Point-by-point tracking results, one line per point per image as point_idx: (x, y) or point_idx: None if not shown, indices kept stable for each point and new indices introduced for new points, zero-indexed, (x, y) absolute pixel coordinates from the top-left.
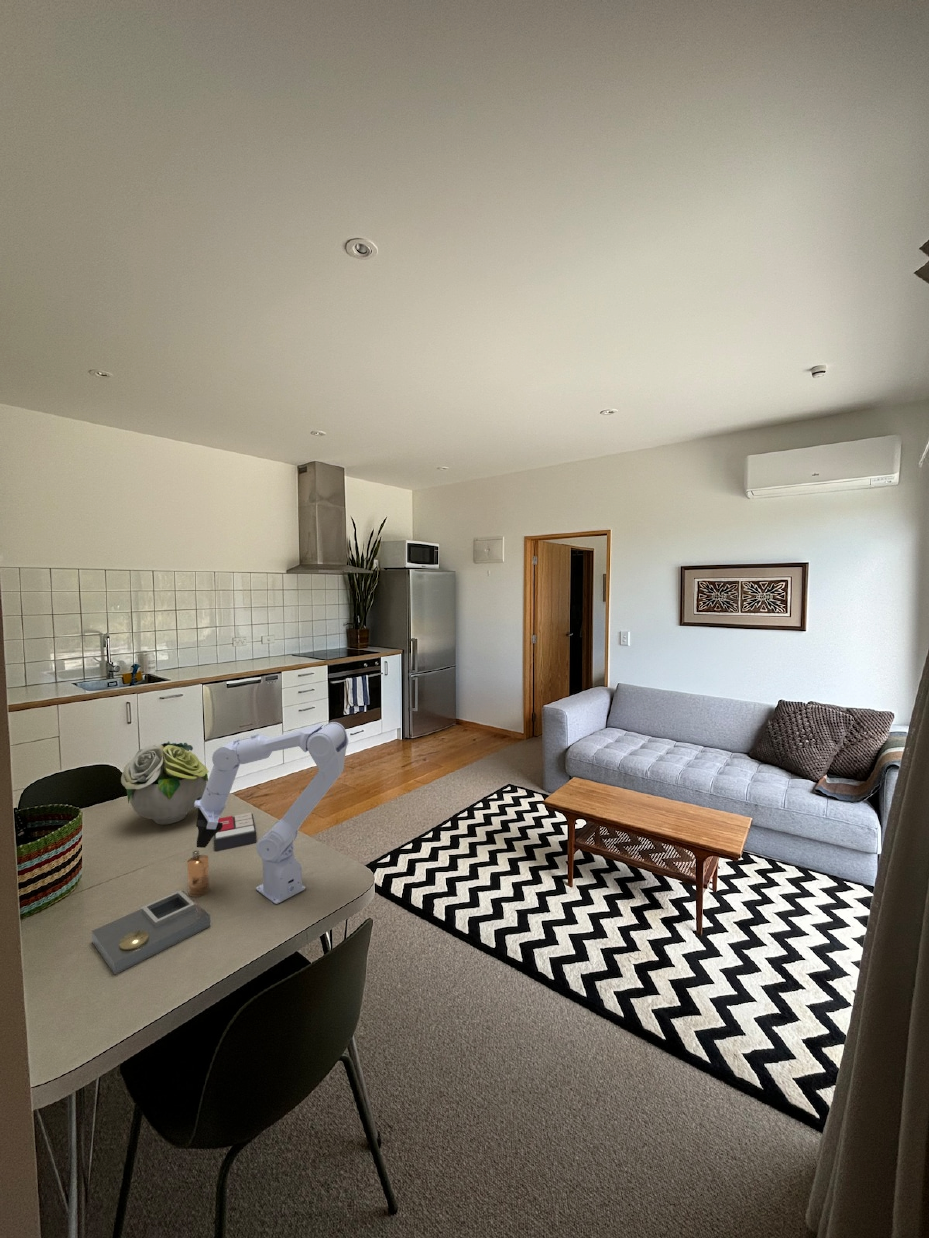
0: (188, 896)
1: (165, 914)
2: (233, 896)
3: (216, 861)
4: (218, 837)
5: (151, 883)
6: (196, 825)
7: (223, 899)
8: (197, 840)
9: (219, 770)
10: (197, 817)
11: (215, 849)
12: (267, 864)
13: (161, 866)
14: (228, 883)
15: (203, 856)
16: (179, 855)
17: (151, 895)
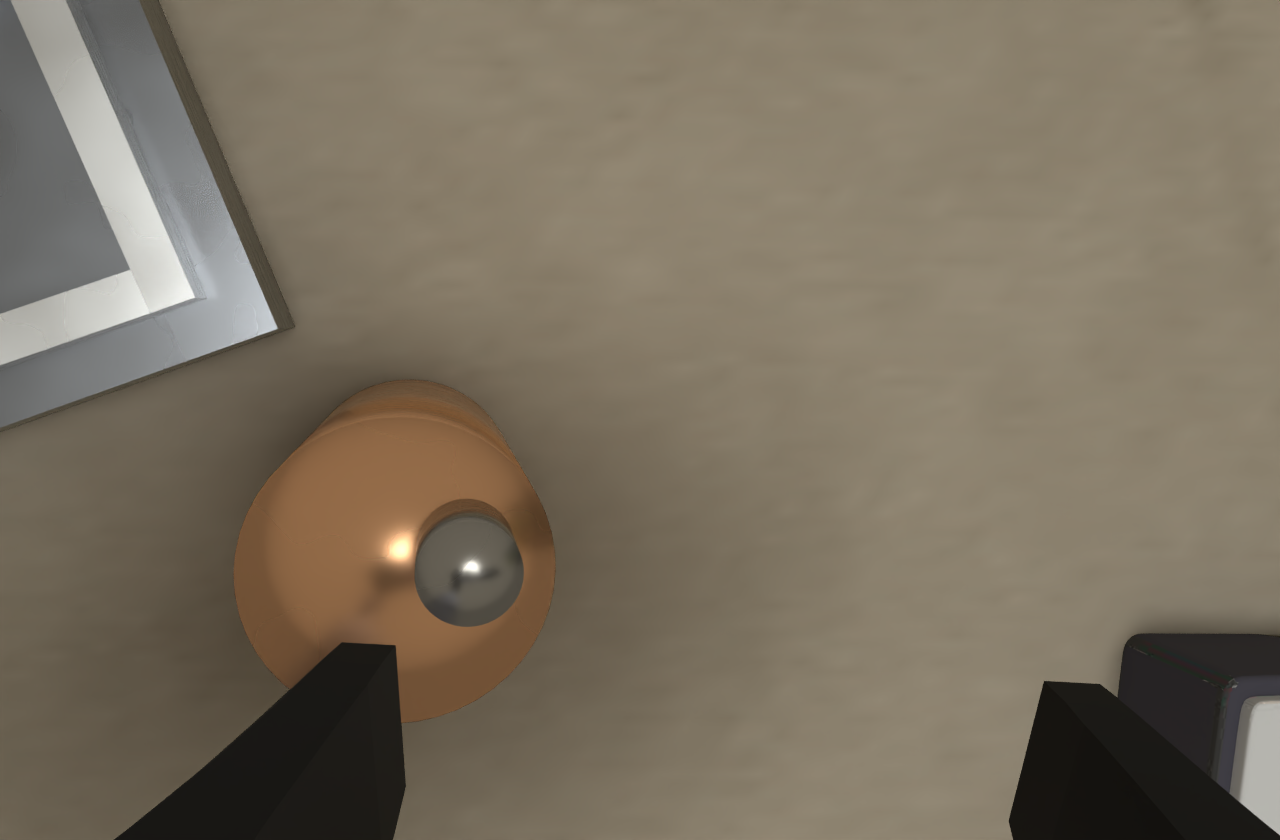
0: (94, 385)
1: (43, 139)
2: (112, 809)
3: (924, 651)
4: (1247, 730)
5: (828, 34)
6: (1061, 698)
7: (103, 712)
8: (236, 739)
9: None
10: (1187, 834)
11: (1141, 650)
12: None
13: (1113, 139)
14: (414, 761)
15: (466, 653)
16: (1233, 311)
17: (583, 24)
